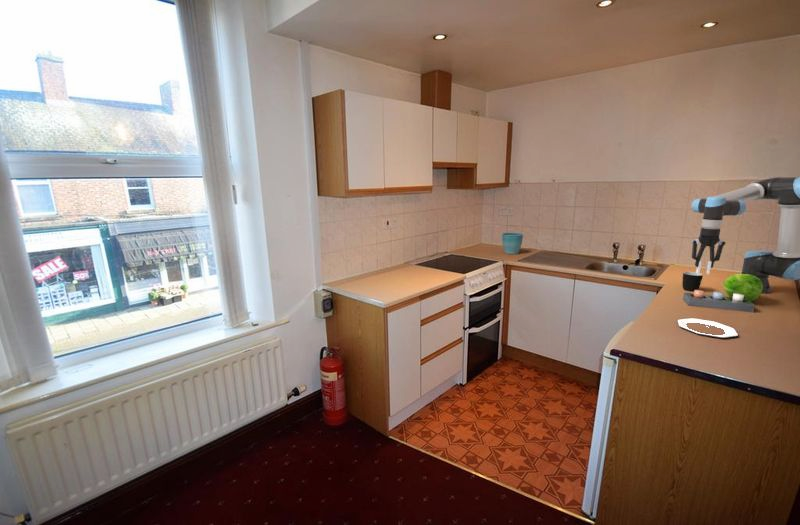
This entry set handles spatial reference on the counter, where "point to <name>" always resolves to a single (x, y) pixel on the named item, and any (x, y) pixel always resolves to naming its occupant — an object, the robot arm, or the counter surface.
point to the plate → (728, 330)
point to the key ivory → (738, 297)
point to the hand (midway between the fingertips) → (702, 273)
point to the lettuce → (743, 286)
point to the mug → (691, 281)
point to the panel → (718, 303)
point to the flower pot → (512, 242)
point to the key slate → (718, 295)
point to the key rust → (698, 293)
